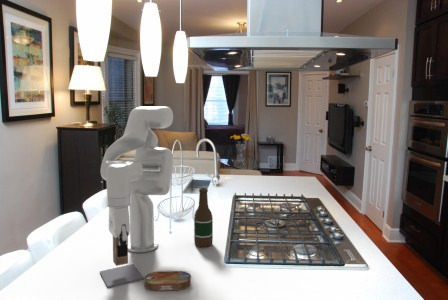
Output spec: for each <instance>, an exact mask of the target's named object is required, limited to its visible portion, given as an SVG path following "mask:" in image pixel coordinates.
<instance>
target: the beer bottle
mask: <svg viewBox="0 0 448 300" xmlns="http://www.w3.org/2000/svg"><path fill="white" fill-rule="evenodd" d="M198 192H199V195H198V206H197V208H196V209H195V212H194V215H193V216H194V217H193V223H194V224H193V225H194V226H193V227H194V229H193V233H194V236H193V238H194V240H193V241H194V245H195V246H196V247H197V248H201V249H203V248H210V247H211V246H212V245H213V242H214V241H213V238H214V237H213V235H214V234H213V233H214V232H213V231H214V229H213V223H214V222H213V221H214V220H213V214H212V211H211V210H210V208H209V200H208V188H207V187H201V188H199V189H198Z"/></svg>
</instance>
